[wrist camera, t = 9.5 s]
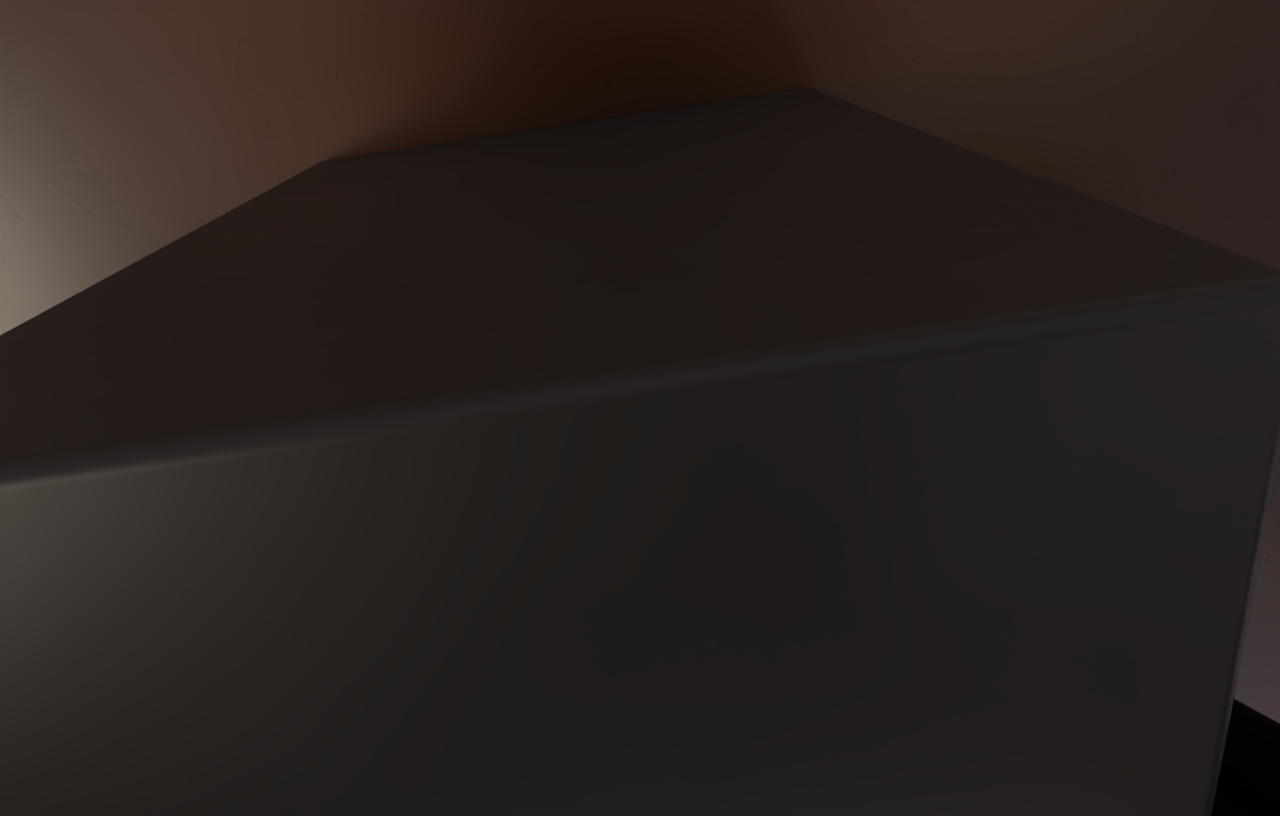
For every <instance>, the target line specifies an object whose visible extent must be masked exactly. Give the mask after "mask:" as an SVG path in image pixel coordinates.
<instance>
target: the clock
mask: <svg viewBox="0 0 1280 816" xmlns="http://www.w3.org/2000/svg"><path fill="white" fill-rule="evenodd" d="M1279 462H1280V270H1279V269H1276V268H1274V267H1271V266H1269V265H1266V264H1264V263H1261V262H1258V261H1256V260H1253V259H1251V258H1248V257H1246V256H1243V255H1240V254H1238V253H1235V252H1233V251H1230V250H1228V249H1225V248H1222V247H1220V246H1217V245H1215V244H1212V243H1210V242H1207V241H1204V240H1202V239H1199V238H1197V237H1194V236H1192V235H1189V234H1186V233H1184V232H1181V231H1179V230H1176V229H1173V228H1171V227H1168V226H1166V225H1163V224H1161V223H1158V222H1155V221H1153V220H1150V219H1148V218H1145V217H1143V216H1140V215H1137V214H1135V213H1132V212H1130V211H1127V210H1125V209H1122V208H1119V207H1117V206H1114V205H1112V204H1109V203H1107V202H1104V201H1101V200H1099V199H1096V198H1094V197H1091V196H1089V195H1086V194H1083V193H1081V192H1078V191H1076V190H1073V189H1070V188H1068V187H1065V186H1063V185H1060V184H1058V183H1055V182H1052V181H1050V180H1047V179H1045V178H1042V177H1040V176H1037V175H1034V174H1032V173H1029V172H1027V171H1024V170H1022V169H1019V168H1016V167H1014V166H1011V165H1009V164H1006V163H1004V162H1001V161H998V160H996V159H993V158H991V157H988V156H986V155H983V154H980V153H978V152H975V151H973V150H970V149H968V148H965V147H962V146H960V145H957V144H955V143H952V142H949V141H947V140H944V139H942V138H939V137H937V136H934V135H931V134H929V133H926V132H924V131H921V130H919V129H916V128H913V127H911V126H908V125H906V124H903V123H901V122H898V121H895V120H893V119H890V118H888V117H885V116H883V115H880V114H877V113H875V112H872V111H870V110H867V109H865V108H862V107H859V106H857V105H854V104H852V103H849V102H846V101H844V100H841V99H839V98H836V97H834V96H831V95H828V94H826V93H823V92H821V91H818V90H816V89H812V88H802V89H796V90H789V91H783V92H776V93H770V94H763V95H756V96H750V97H743V98H737V99H730V100H724V101H717V102H711V103H704V104H697V105H691V106H684V107H678V108H671V109H665V110H658V111H651V112H645V113H638V114H632V115H625V116H619V117H612V118H606V119H599V120H592V121H586V122H579V123H573V124H566V125H560V126H553V127H546V128H540V129H533V130H527V131H520V132H514V133H507V134H500V135H494V136H487V137H481V138H474V139H468V140H461V141H455V142H448V143H441V144H435V145H428V146H422V147H415V148H409V149H402V150H395V151H389V152H382V153H376V154H369V155H363V156H356V157H350V158H343V159H336V160H330V161H323V162H320V163H318V164H316V165H314V166H312V167H310V168H308V169H307V170H305V171H303V172H301V173H299V174H297V175H296V176H294V177H292V178H290V179H288V180H286V181H284V182H283V183H281V184H279V185H277V186H275V187H273V188H272V189H270V190H268V191H266V192H264V193H262V194H260V195H259V196H257V197H255V198H253V199H251V200H249V201H248V202H246V203H244V204H242V205H240V206H238V207H236V208H235V209H233V210H231V211H229V212H227V213H225V214H223V215H222V216H220V217H218V218H216V219H214V220H212V221H211V222H209V223H207V224H205V225H203V226H201V227H199V228H198V229H196V230H194V231H192V232H190V233H188V234H187V235H185V236H183V237H181V238H179V239H177V240H175V241H174V242H172V243H170V244H168V245H166V246H164V247H163V248H161V249H159V250H157V251H155V252H153V253H151V254H150V255H148V256H146V257H144V258H142V259H140V260H138V261H137V262H135V263H133V264H131V265H129V266H127V267H126V268H124V269H122V270H120V271H118V272H116V273H114V274H113V275H111V276H109V277H107V278H105V279H103V280H102V281H100V282H98V283H96V284H94V285H92V286H90V287H89V288H87V289H85V290H83V291H81V292H79V293H77V294H76V295H74V296H72V297H70V298H68V299H66V300H65V301H63V302H61V303H59V304H57V305H55V306H53V307H52V308H50V309H48V310H46V311H44V312H42V313H41V314H39V315H37V316H35V317H33V318H31V319H29V320H28V321H26V322H24V323H22V324H20V325H18V326H17V327H15V328H13V329H11V330H9V331H7V332H5V333H4V334H2V335H0V816H1211V814H1212V809H1213V804H1214V799H1215V793H1216V788H1217V783H1218V778H1219V773H1220V768H1221V762H1222V757H1223V752H1224V747H1225V742H1226V736H1227V731H1228V726H1229V721H1230V716H1231V711H1232V705H1233V700H1234V695H1235V690H1236V685H1237V680H1238V674H1239V669H1240V664H1241V659H1242V654H1243V648H1244V643H1245V638H1246V633H1247V628H1248V623H1249V617H1250V612H1251V607H1252V602H1253V597H1254V592H1255V586H1256V581H1257V576H1258V571H1259V566H1260V560H1261V555H1262V550H1263V545H1264V540H1265V535H1266V529H1267V524H1268V519H1269V514H1270V509H1271V504H1272V498H1273V493H1274V488H1275V483H1276V478H1277V472H1278V467H1279Z"/></svg>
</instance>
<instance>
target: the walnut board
mask: <svg viewBox="0 0 1280 816" xmlns="http://www.w3.org/2000/svg"><path fill="white" fill-rule="evenodd" d="M802 88H812V89H816V90H818V91H821V92H823V93H826V94H828V95H831V96H834V97H836V98H839V99H841V100H844V101H846V102H849V103H852V104H854V105H857V106H859V107H862V108H865V109H867V110H870V111H872V112H875V113H877V114H880V115H883V116H885V117H888V118H890V119H893V120H895V121H898V122H901V123H903V124H906V125H908V126H911V127H913V128H916V129H919V130H921V131H924V132H926V133H929V134H931V135H934V136H937V137H939V138H942V139H944V140H947V141H949V142H952V143H955V144H957V145H960V146H962V147H965V148H968V149H970V150H973V151H975V152H978V153H980V154H983V155H986V156H988V157H991V158H993V159H996V160H998V161H1001V162H1004V163H1006V164H1009V165H1011V166H1014V167H1016V168H1019V169H1022V170H1024V171H1027V172H1029V173H1032V174H1034V175H1037V176H1040V177H1042V178H1045V179H1047V180H1050V181H1052V182H1055V183H1058V184H1060V185H1063V186H1065V187H1068V188H1070V189H1073V190H1076V191H1078V192H1081V193H1083V194H1086V195H1089V196H1091V197H1094V198H1096V199H1099V200H1101V201H1104V202H1107V203H1109V204H1112V205H1114V206H1117V207H1119V208H1122V209H1125V210H1127V211H1130V212H1132V213H1135V214H1137V215H1140V216H1143V217H1145V218H1148V219H1150V220H1153V221H1155V222H1158V223H1161V224H1163V225H1166V226H1168V227H1171V228H1173V229H1176V230H1179V231H1181V232H1184V233H1186V234H1189V235H1192V236H1194V237H1197V238H1199V239H1202V240H1204V241H1207V242H1210V243H1212V244H1215V245H1217V246H1220V247H1222V248H1225V249H1228V250H1230V251H1233V252H1235V253H1238V254H1240V255H1243V256H1246V257H1248V258H1251V259H1253V260H1256V261H1258V262H1261V263H1264V264H1266V265H1269V266H1271V267H1274V268H1276V269H1279V270H1280V0H0V335H2V334H4V333H5V332H7V331H9V330H11V329H13V328H15V327H17V326H18V325H20V324H22V323H24V322H26V321H28V320H29V319H31V318H33V317H35V316H37V315H39V314H41V313H42V312H44V311H46V310H48V309H50V308H52V307H53V306H55V305H57V304H59V303H61V302H63V301H65V300H66V299H68V298H70V297H72V296H74V295H76V294H77V293H79V292H81V291H83V290H85V289H87V288H89V287H90V286H92V285H94V284H96V283H98V282H100V281H102V280H103V279H105V278H107V277H109V276H111V275H113V274H114V273H116V272H118V271H120V270H122V269H124V268H126V267H127V266H129V265H131V264H133V263H135V262H137V261H138V260H140V259H142V258H144V257H146V256H148V255H150V254H151V253H153V252H155V251H157V250H159V249H161V248H163V247H164V246H166V245H168V244H170V243H172V242H174V241H175V240H177V239H179V238H181V237H183V236H185V235H187V234H188V233H190V232H192V231H194V230H196V229H198V228H199V227H201V226H203V225H205V224H207V223H209V222H211V221H212V220H214V219H216V218H218V217H220V216H222V215H223V214H225V213H227V212H229V211H231V210H233V209H235V208H236V207H238V206H240V205H242V204H244V203H246V202H248V201H249V200H251V199H253V198H255V197H257V196H259V195H260V194H262V193H264V192H266V191H268V190H270V189H272V188H273V187H275V186H277V185H279V184H281V183H283V182H284V181H286V180H288V179H290V178H292V177H294V176H296V175H297V174H299V173H301V172H303V171H305V170H307V169H308V168H310V167H312V166H314V165H316V164H318V163H320V162H323V161H330V160H336V159H343V158H350V157H356V156H363V155H369V154H376V153H382V152H389V151H395V150H402V149H409V148H415V147H422V146H428V145H435V144H441V143H448V142H455V141H461V140H468V139H474V138H481V137H487V136H494V135H500V134H507V133H514V132H520V131H527V130H533V129H540V128H546V127H553V126H560V125H566V124H573V123H579V122H586V121H592V120H599V119H606V118H612V117H619V116H625V115H632V114H638V113H645V112H651V111H658V110H665V109H671V108H678V107H684V106H691V105H697V104H704V103H711V102H717V101H724V100H730V99H737V98H743V97H750V96H756V95H763V94H770V93H776V92H783V91H789V90H796V89H802ZM1234 699H1236V700H1238V701H1240V702H1242V703H1243V704H1245V705H1247V706H1249V707H1251V708H1252V709H1254V710H1256V711H1258V712H1260V713H1262V714H1263V715H1265V716H1267V717H1269V718H1271V719H1272V720H1274V721H1276V722H1278V723H1280V462H1279V467H1278V472H1277V478H1276V483H1275V488H1274V493H1273V498H1272V504H1271V509H1270V514H1269V519H1268V524H1267V529H1266V535H1265V540H1264V545H1263V550H1262V555H1261V560H1260V566H1259V571H1258V576H1257V581H1256V586H1255V592H1254V597H1253V602H1252V607H1251V612H1250V617H1249V623H1248V628H1247V633H1246V638H1245V643H1244V648H1243V654H1242V659H1241V664H1240V669H1239V674H1238V680H1237V685H1236V690H1235V695H1234Z"/></svg>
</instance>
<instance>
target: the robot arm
mask: <svg viewBox="0 0 1280 816" xmlns="http://www.w3.org/2000/svg"><path fill="white" fill-rule="evenodd" d="M1211 816H1280V723H1278V722H1276V721H1274V720H1272V719H1271V718H1269V717H1267V716H1265V715H1263V714H1262V713H1260V712H1258V711H1256V710H1254V709H1252V708H1251V707H1249V706H1247V705H1245V704H1243V703H1242V702H1240V701H1238V700H1236V699H1234V700H1233V705H1232V711H1231V716H1230V721H1229V726H1228V731H1227V736H1226V742H1225V747H1224V752H1223V757H1222V762H1221V768H1220V773H1219V778H1218V783H1217V788H1216V793H1215V799H1214V804H1213V809H1212V814H1211Z"/></svg>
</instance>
